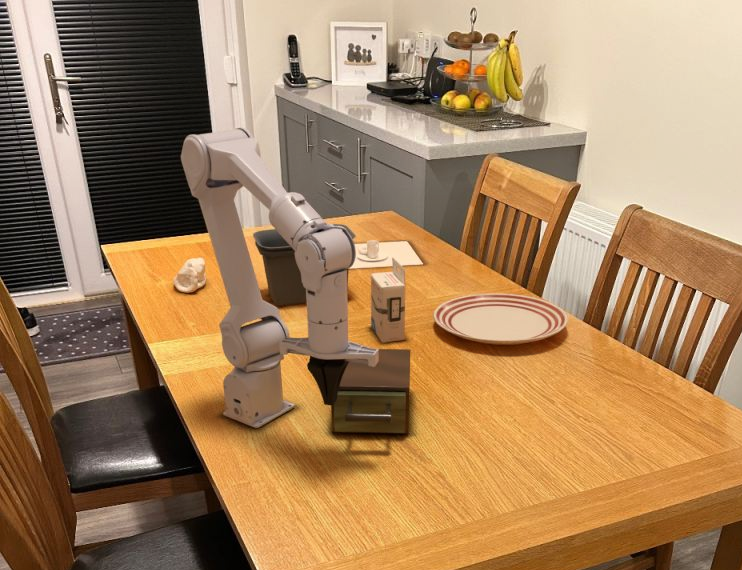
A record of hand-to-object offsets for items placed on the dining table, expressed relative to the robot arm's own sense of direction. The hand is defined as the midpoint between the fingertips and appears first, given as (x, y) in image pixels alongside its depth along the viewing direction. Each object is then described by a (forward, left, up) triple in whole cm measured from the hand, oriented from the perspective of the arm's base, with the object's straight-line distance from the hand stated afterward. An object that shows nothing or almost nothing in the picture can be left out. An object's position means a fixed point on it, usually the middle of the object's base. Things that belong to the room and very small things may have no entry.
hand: (330, 402), depth 119 cm
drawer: (+10, 0, -8) cm, 13 cm away
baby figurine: (+38, +74, -9) cm, 84 cm away
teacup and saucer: (+83, +53, -9) cm, 99 cm away
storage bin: (+49, +48, -9) cm, 69 cm away
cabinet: (+14, +3, -9) cm, 17 cm away
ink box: (+42, +20, -9) cm, 48 cm away
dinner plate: (+58, +3, -9) cm, 59 cm away
